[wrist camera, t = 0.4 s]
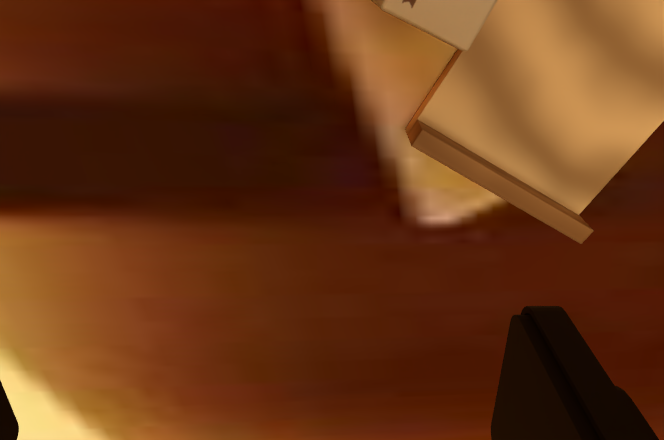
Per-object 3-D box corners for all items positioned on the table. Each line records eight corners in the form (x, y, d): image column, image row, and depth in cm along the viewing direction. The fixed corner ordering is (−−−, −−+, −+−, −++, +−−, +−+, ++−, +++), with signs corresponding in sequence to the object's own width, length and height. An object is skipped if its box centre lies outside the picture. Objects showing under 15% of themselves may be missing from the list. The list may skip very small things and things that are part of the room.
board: (672, -277, 25) (722, -313, 22) (854, -111, 28) (920, -121, 25) (405, 129, 34) (411, 145, 31) (560, 220, 37) (581, 243, 34)
